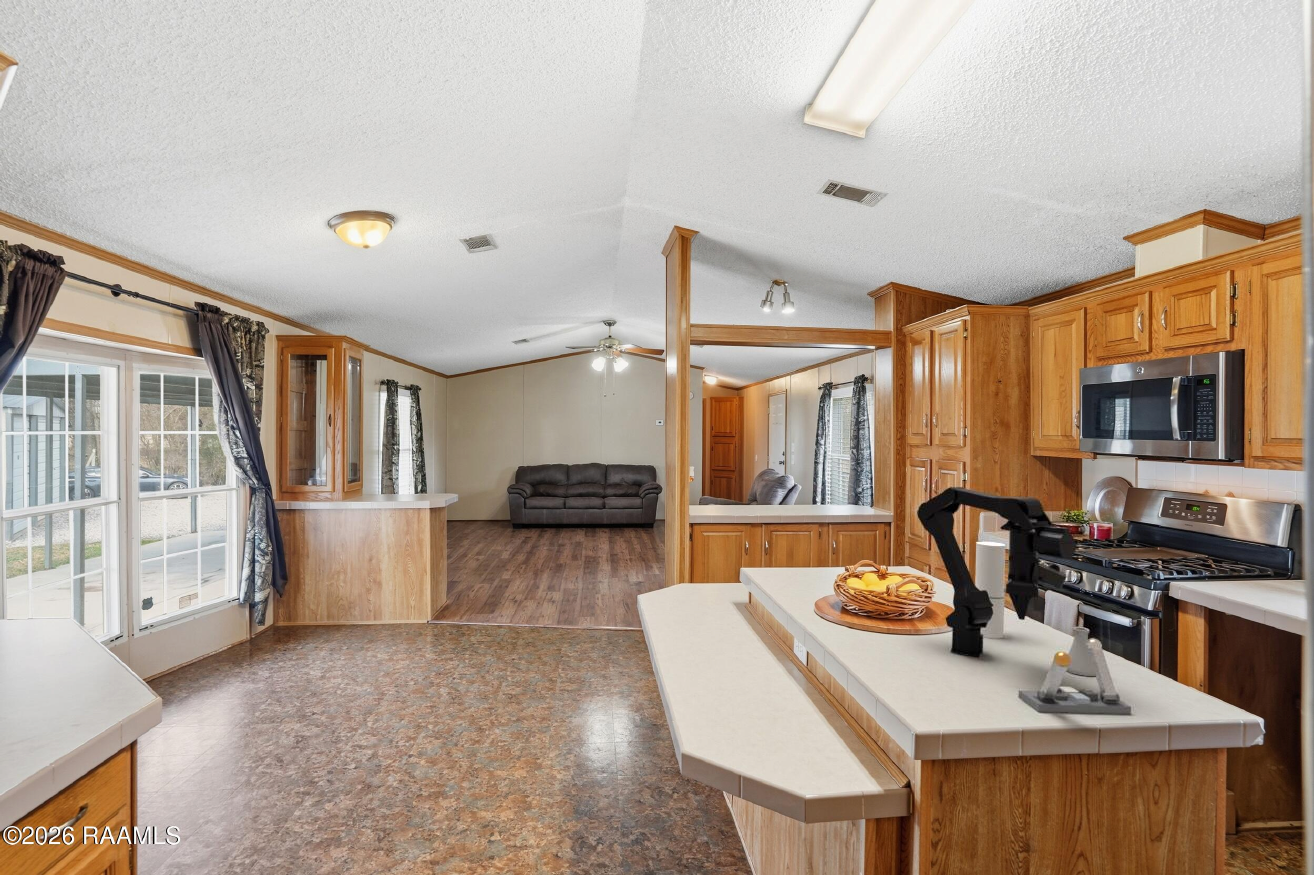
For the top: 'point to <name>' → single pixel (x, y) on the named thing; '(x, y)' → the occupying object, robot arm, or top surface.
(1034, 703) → the panel
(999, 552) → the cylindrical container
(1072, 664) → the flask
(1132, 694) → the top surface
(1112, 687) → the lever
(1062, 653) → the orange knob lever
